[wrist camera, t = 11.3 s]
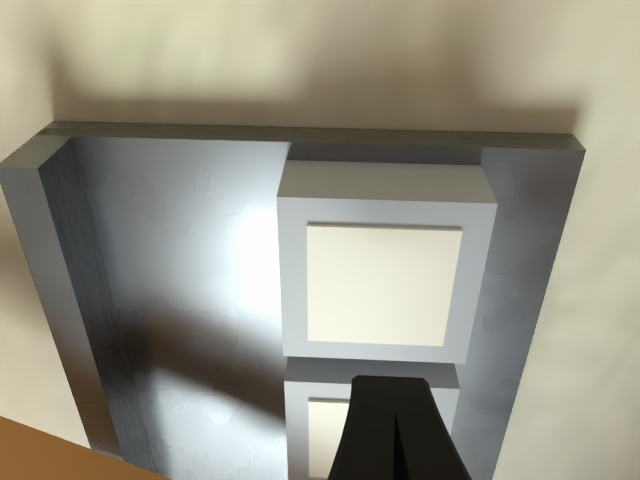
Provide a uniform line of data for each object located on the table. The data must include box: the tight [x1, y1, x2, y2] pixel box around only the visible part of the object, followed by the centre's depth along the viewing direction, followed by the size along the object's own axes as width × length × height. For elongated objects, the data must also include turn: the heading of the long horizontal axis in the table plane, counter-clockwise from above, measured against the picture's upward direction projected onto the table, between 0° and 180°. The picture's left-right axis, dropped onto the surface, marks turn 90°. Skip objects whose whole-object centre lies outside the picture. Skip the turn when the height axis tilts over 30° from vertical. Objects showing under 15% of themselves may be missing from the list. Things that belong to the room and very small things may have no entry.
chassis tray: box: [0, 121, 586, 480], centre depth 18 cm, size 14×17×4 cm
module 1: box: [276, 160, 498, 364], centre depth 15 cm, size 5×5×2 cm
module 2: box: [284, 356, 460, 480], centre depth 18 cm, size 5×5×2 cm
